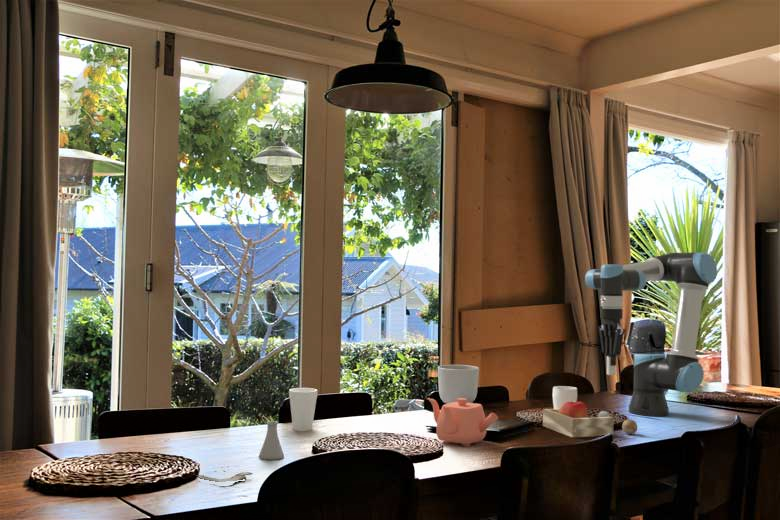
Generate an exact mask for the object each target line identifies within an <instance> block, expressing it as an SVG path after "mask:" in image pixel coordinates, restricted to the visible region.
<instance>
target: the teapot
mask: <svg viewBox="0 0 780 520" xmlns="http://www.w3.org/2000/svg"><path fill="white" fill-rule="evenodd" d="M426 400H428V401H429V402H430V403H431V406H432V409H433V410H432V411H433V418H434V422H435V423H436V431H435V433H436V436H437V438H438V440H440V441H443V444H449V445H450V444H452V443H455V444H461V446H462V447H471V444H478V443H480V442H481V441H483V439H485V437H486V434H487V431H488V430H487V429H488V428H489V427H491V425H493V424H494V423H496V421H497V420H498V419H499V418H498V415H497V414H496V413H495V412H491V413H490V414H489V415H488V416H487V417H486V414H485V412H484V407H483V405H482V404H481V403H476V402H475V403H474V402H472V403H467V400H468V399H465V398H458V399H457V401H458V402H452V403H447V404H446V403H444V404H443V405H442V406H441V409H440V406H439V403H438V402H437V400H435V399H434V398H430V397H427V398H426Z"/></svg>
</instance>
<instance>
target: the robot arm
mask: <svg viewBox="0 0 780 520" xmlns="http://www.w3.org/2000/svg"><path fill="white" fill-rule="evenodd" d="M717 275H718V268H717V263H716V261H715V259H714V258H713V256H712V255H711V254H709V253H707V252H697V251H695V252H692V251H691V252H668V253H665V254H661V255H657V256H652V257H648V258H646V259H645V260H644V261H639V262H634V263H628V264H617V263H615V264H611V263H610V264H609V263H608V264H606V263H605V264H602V265H601V266H600V269H597V268H594V269H589V270H588V271H587V272H586V274H585V275H584V276H585V277H584V278H585V279H584V281H585V285H586V286H587V288H589V289H591V290H600V307H601V309H600V311H599V312H600V316H599V318H600V319H602V324H601V325H598V326H597V329H598V333H599V337H600V346H601V353H602V354H604V355H605V359H606V362H605V364H606V375H608V376H613V375H614V376H615V375H616V373H617V372H616V367H617V357H618V356H620V355H621V352H622V345H623V341H624V335H625V332H626V329H625V328H622V326H621V320H622V319H623V309H622V307H623V305H624V304H623V302H624V299H623V298H624V297H623V291H625V292H628V291H629V292H630V291H631V292H633V291H634V292H635V291H640V290H643V289H644V288H645V286H646V284H647V281H651V282H659V281H660V282H661V281H662V282H663V281H665V282H672V283H673V282H674V283H675V282H676V284H675V285H676V286H677V288H678V289H679V292H678V300H677V305H676V306H677V307H676V316H675V323H674V329H673V338H672V343H671V348H670V349H671V350H669V351H668V352H667V353H666V355H665V354H642V355H636V356H635V357H634V362H633V393H632V396H631V398H630V401H629V405H628V412H629V413H631V414H634V415H635V414H636V415H640V416H646V417H647V416H648V417H664V416H668V415H669V414H670V409H669V405H668V402H667V399H666V398H667V397H666V395H665V390H670V391H676V392H680V393H692V392H696V390H697V389H699V387H701V385H702V383H703V379H704V368H703V366H702V364H701V363H699V359H700V358H699V357H698V356H697V354H696V350H697V342H698V335H699V327H700V319H701V314H702V313H701V312H702V304H703V297H704V293H705V292H706V291H707V290H708V289H709V285H710V284H712V283H713V282H715V280H716V278H717V277H718V276H717Z"/></svg>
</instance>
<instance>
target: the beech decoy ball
mask: <svg viewBox="0 0 780 520" xmlns="http://www.w3.org/2000/svg"><path fill="white" fill-rule="evenodd" d="M621 428H622V430H623V432H624V433H625V434H627V435H634V434H636V432H637V431H638V428H639V427H638V424H637V422H636V421H635V420H634V419H632V418H631V419H630V418H628V419H626V420H624V421H623V423H622V425H621Z"/></svg>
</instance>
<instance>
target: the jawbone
mask: <svg viewBox="0 0 780 520" xmlns="http://www.w3.org/2000/svg"><path fill="white" fill-rule="evenodd" d="M252 475H253V472H249V471H248V472H247V471H245V472H240V473H239V472H238V473H237V474H234V475H233V476H231V477H227V478H222V479H221V478H220V479H219V478H216V477H212V476H211V477H210V476H206V475H204V474H203V475H202V474H199V475H197V476H198V478H200V479H204V480H209V481H215V482H226V481H237V480H243V479H246V480H247V476H252Z"/></svg>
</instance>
